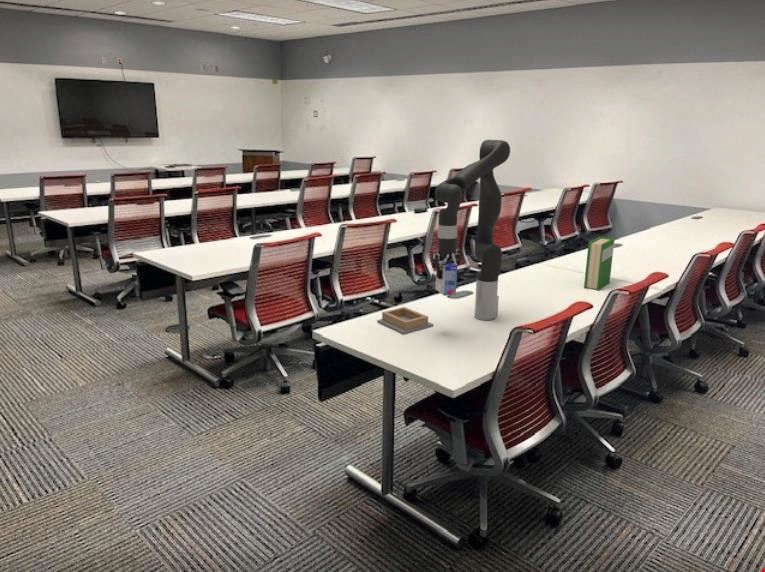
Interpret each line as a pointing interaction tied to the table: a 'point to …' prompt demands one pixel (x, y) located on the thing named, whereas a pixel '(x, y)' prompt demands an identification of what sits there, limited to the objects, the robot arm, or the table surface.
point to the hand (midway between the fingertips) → (446, 277)
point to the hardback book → (599, 263)
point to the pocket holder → (404, 320)
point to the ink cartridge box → (447, 279)
